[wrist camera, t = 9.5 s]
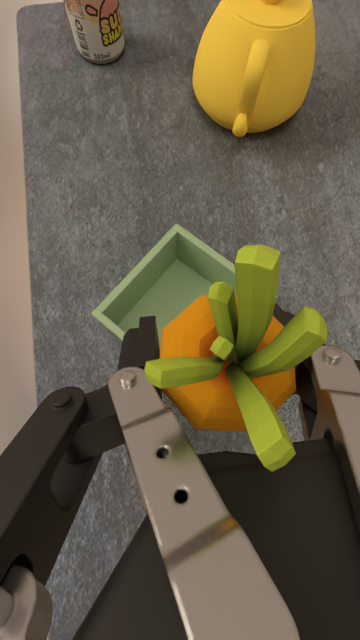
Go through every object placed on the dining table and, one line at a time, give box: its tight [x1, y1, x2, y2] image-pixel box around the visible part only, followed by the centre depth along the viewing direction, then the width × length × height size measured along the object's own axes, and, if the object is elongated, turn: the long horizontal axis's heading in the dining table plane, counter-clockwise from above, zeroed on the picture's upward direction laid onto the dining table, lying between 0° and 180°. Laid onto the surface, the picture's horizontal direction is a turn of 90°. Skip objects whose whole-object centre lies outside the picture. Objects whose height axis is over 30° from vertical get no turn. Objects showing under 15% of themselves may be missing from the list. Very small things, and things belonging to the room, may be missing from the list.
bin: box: [91, 223, 278, 346], centre depth 30 cm, size 14×14×7 cm
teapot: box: [193, 0, 315, 137], centre depth 37 cm, size 25×18×14 cm
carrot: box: [144, 245, 327, 472], centre depth 12 cm, size 5×5×15 cm
